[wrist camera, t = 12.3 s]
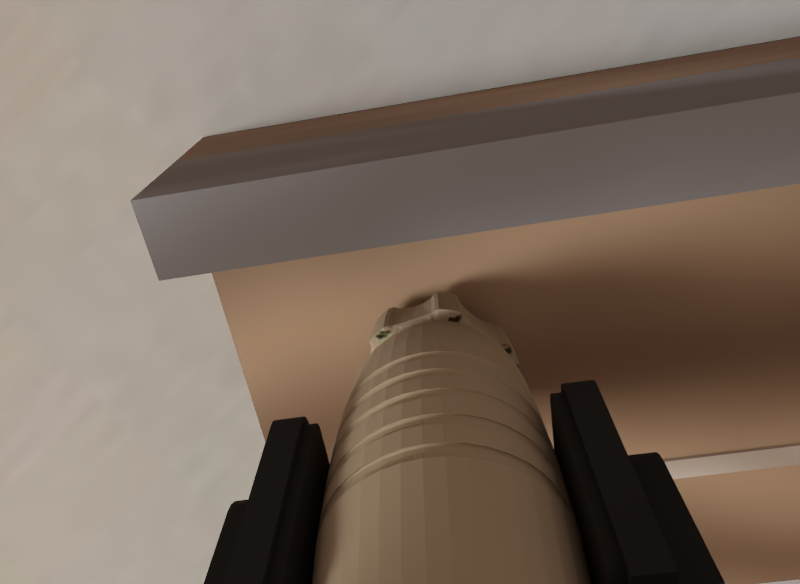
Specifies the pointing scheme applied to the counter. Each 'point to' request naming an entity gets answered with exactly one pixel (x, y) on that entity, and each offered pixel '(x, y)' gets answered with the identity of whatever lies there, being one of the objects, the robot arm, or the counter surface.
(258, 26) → the counter surface
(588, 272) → the board
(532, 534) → the handle
